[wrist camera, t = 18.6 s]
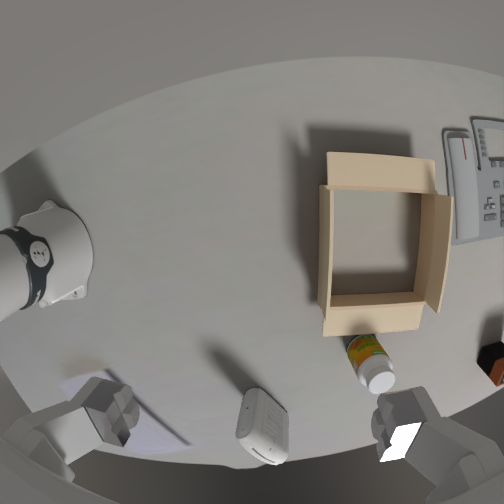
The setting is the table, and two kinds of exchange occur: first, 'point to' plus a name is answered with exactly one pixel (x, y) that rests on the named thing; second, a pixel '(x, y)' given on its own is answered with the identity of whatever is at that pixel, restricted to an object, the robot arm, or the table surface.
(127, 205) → the table surface
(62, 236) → the robot arm
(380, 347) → the supplement bottle
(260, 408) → the photo printer
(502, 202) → the office telephone
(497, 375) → the battery
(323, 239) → the carton
